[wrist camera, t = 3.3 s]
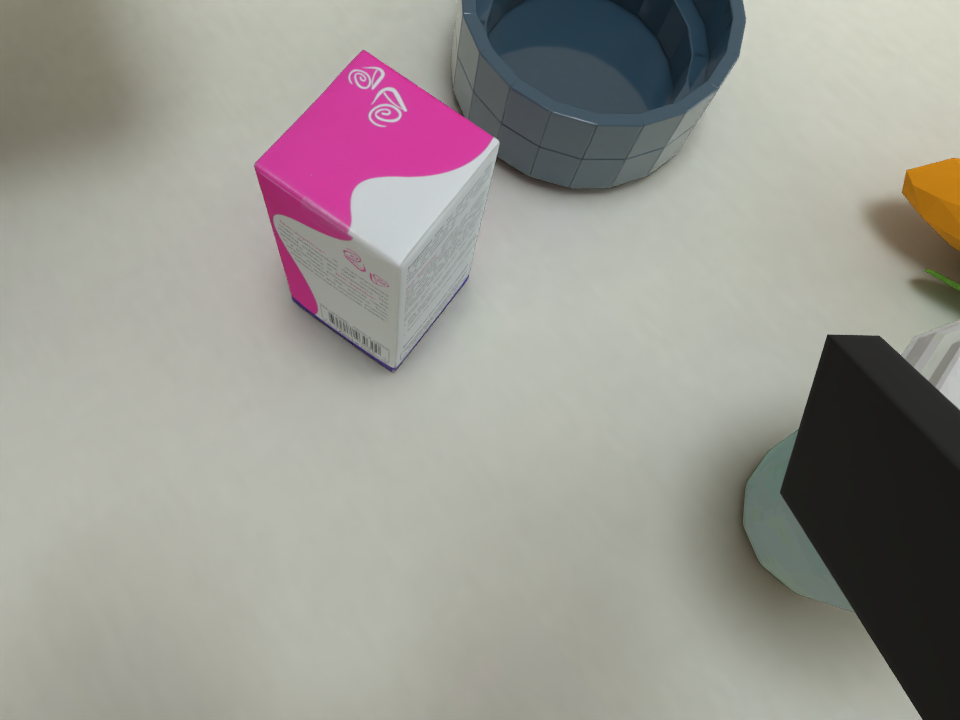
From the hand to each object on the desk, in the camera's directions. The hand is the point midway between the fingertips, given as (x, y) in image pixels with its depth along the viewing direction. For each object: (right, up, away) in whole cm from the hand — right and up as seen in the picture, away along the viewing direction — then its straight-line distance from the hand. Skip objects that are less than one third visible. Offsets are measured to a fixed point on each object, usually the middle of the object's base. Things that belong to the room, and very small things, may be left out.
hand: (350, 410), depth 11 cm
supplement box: (-3, +4, +26) cm, 26 cm away
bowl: (+6, +14, +29) cm, 33 cm away
